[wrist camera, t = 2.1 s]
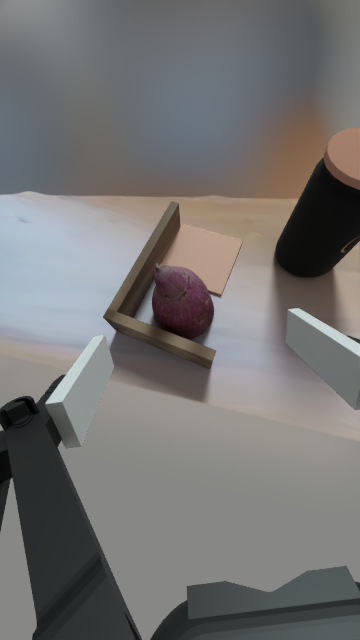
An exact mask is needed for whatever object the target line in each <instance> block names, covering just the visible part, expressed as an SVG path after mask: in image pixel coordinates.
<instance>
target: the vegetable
mask: <svg viewBox="0 0 360 640" xmlns="http://www.w3.org/2000/svg"><path fill="white" fill-rule="evenodd" d="M154 279H155V283H156V286H155V289H154V292H153V297H152V308H153V312H154V315H155V318H156V321H157V323H158V325H159V327H160V329H162V330H165V331H167V332H170V333H172V334H175V335H177V336H180V337H183V338H185V339H192V338H194V337H197V336H199V335H201V334H202V333H203V332H204V331H205V330H206V329H207V327H208V326H209V325H210V323H211V321H212V319H213V316H214V306H213V302H212V299H211V296H210V295H209V292H208V289H207V287H206V286H205V284H204V282H203V281H202V280H201V279H200V278H199V276H197V275H196V274H195V273H194V272H193V271H191V270H189V269H187V268H184V267H177V266H169V265H162V264H160V265H159V264H158V263H157V264H156V265H155V269H154Z"/></svg>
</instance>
